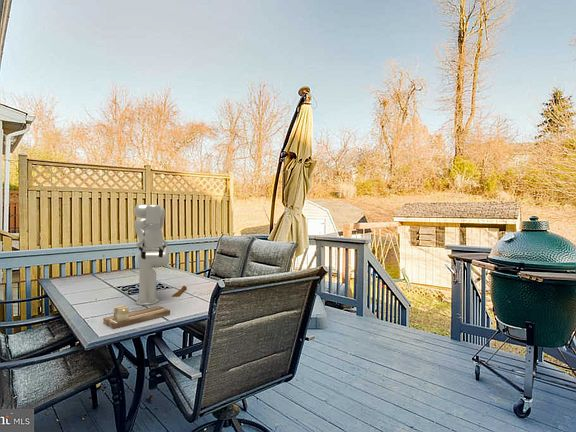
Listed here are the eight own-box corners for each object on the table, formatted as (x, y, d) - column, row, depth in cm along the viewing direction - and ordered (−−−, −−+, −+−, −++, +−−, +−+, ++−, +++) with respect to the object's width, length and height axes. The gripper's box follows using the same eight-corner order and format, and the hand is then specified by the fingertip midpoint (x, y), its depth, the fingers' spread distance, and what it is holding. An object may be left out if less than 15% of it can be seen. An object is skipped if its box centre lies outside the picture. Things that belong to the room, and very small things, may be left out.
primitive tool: (179, 297, 207) (179, 292, 207) (170, 297, 207) (170, 292, 207) (187, 290, 226) (187, 285, 226) (179, 290, 226) (179, 285, 226)
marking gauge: (112, 318, 155) (112, 306, 155) (122, 316, 159) (122, 304, 159) (119, 322, 150) (119, 309, 150) (129, 319, 154) (130, 307, 154)
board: (103, 323, 156) (103, 318, 156) (158, 310, 178) (158, 305, 178) (113, 329, 148) (113, 323, 148) (170, 314, 171) (170, 310, 171)
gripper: (140, 227, 165) (139, 260, 165) (170, 227, 178) (170, 257, 178) (133, 227, 169) (133, 258, 169) (163, 226, 183) (163, 255, 183)
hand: (152, 258), depth 174 cm, fingers open, 9 cm apart
